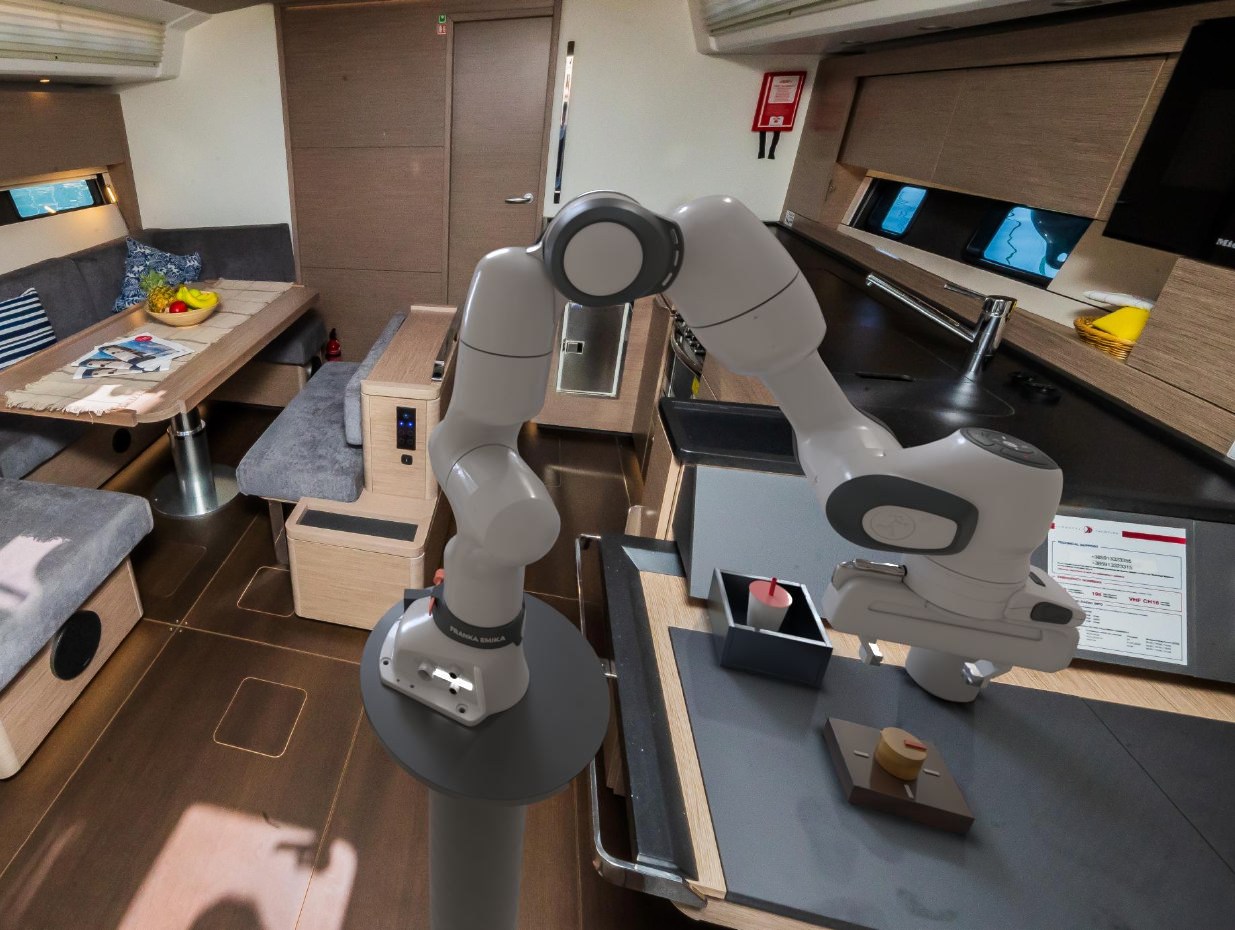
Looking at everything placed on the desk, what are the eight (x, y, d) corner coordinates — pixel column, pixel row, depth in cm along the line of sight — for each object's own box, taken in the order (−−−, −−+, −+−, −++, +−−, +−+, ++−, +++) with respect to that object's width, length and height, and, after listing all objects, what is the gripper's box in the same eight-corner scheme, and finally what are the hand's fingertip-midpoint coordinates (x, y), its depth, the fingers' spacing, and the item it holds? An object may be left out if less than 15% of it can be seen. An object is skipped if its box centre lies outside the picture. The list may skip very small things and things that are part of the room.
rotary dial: (847, 802, 68) (854, 784, 67) (822, 732, 76) (828, 715, 74) (966, 836, 64) (976, 818, 63) (927, 759, 72) (934, 741, 71)
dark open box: (719, 665, 86) (728, 626, 83) (706, 604, 96) (714, 567, 94) (820, 689, 81) (833, 648, 78) (794, 622, 92) (805, 584, 89)
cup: (760, 657, 86) (776, 594, 81) (730, 629, 90) (744, 569, 86) (788, 647, 87) (806, 585, 83) (757, 621, 92) (772, 561, 87)
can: (982, 716, 77) (1014, 649, 72) (908, 691, 80) (935, 626, 76) (966, 673, 83) (995, 609, 78) (898, 652, 86) (922, 590, 82)
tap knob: (882, 774, 68) (891, 752, 66) (868, 742, 71) (876, 720, 70) (924, 785, 66) (934, 763, 65) (908, 752, 70) (917, 731, 68)
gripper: (848, 575, 61) (819, 670, 66) (1111, 619, 54) (1055, 721, 59) (828, 538, 66) (802, 628, 71) (1063, 573, 60) (1017, 670, 65)
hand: (919, 671), depth 65 cm, fingers open, 8 cm apart
